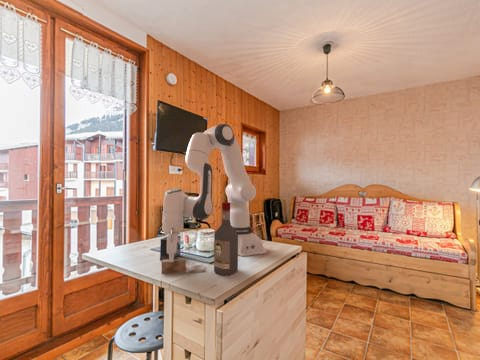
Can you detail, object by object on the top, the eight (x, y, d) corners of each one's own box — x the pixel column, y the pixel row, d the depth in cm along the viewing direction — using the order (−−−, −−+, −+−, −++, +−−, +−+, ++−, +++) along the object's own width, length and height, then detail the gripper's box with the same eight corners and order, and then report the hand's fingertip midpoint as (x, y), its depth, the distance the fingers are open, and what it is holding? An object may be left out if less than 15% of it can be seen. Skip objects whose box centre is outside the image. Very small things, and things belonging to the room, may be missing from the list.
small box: (171, 261, 120) (171, 240, 120) (159, 260, 121) (159, 239, 121) (181, 255, 130) (181, 235, 130) (169, 254, 131) (169, 234, 131)
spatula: (161, 275, 102) (161, 263, 102) (162, 269, 108) (162, 258, 108) (204, 271, 107) (204, 260, 107) (203, 266, 113) (203, 255, 113)
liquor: (225, 266, 113) (225, 201, 114) (240, 270, 108) (241, 202, 108) (210, 271, 106) (211, 202, 106) (226, 277, 101) (226, 204, 101)
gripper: (180, 230, 97) (179, 265, 97) (180, 222, 117) (179, 251, 117) (163, 231, 96) (162, 266, 96) (166, 222, 116) (166, 252, 116)
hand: (171, 258), depth 107 cm, fingers open, 8 cm apart
